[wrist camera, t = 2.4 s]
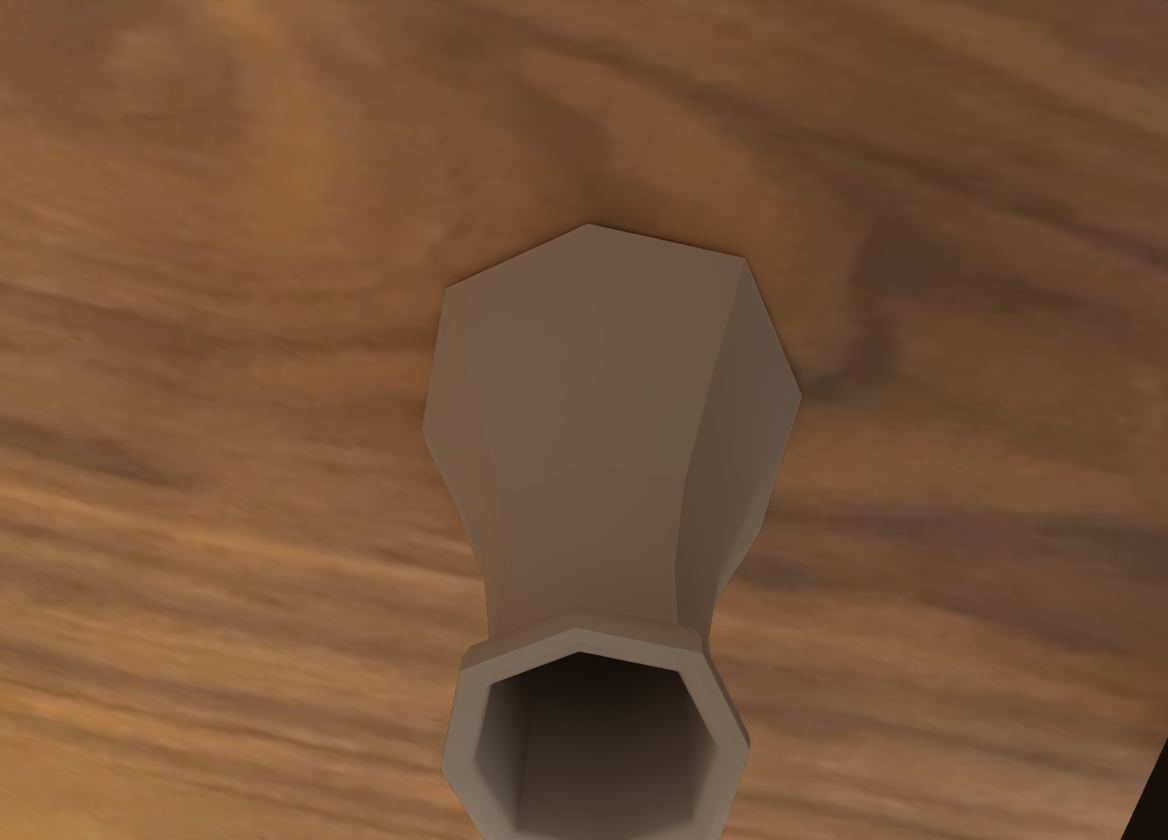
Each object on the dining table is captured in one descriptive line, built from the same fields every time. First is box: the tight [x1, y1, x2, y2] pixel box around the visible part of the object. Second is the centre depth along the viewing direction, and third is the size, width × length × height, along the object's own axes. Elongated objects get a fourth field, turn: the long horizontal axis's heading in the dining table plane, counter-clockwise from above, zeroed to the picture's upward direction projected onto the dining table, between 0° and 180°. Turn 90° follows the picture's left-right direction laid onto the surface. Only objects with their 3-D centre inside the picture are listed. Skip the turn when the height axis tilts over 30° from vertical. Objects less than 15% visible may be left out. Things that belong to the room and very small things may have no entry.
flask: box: [421, 224, 802, 840], centre depth 15 cm, size 7×7×10 cm
